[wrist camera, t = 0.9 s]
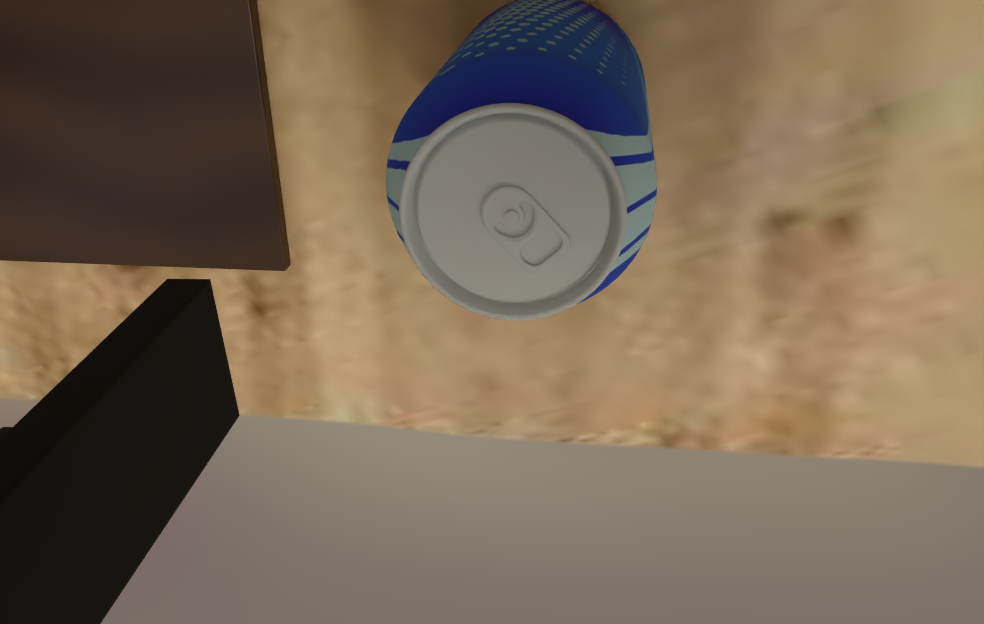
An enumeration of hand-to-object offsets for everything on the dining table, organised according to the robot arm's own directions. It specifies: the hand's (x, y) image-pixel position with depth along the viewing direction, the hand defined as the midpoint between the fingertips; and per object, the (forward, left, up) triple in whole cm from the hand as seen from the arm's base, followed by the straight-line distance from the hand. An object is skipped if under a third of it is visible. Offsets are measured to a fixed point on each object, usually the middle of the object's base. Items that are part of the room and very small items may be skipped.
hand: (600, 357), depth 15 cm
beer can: (+2, -3, -27) cm, 27 cm away
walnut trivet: (+1, -24, -27) cm, 36 cm away
